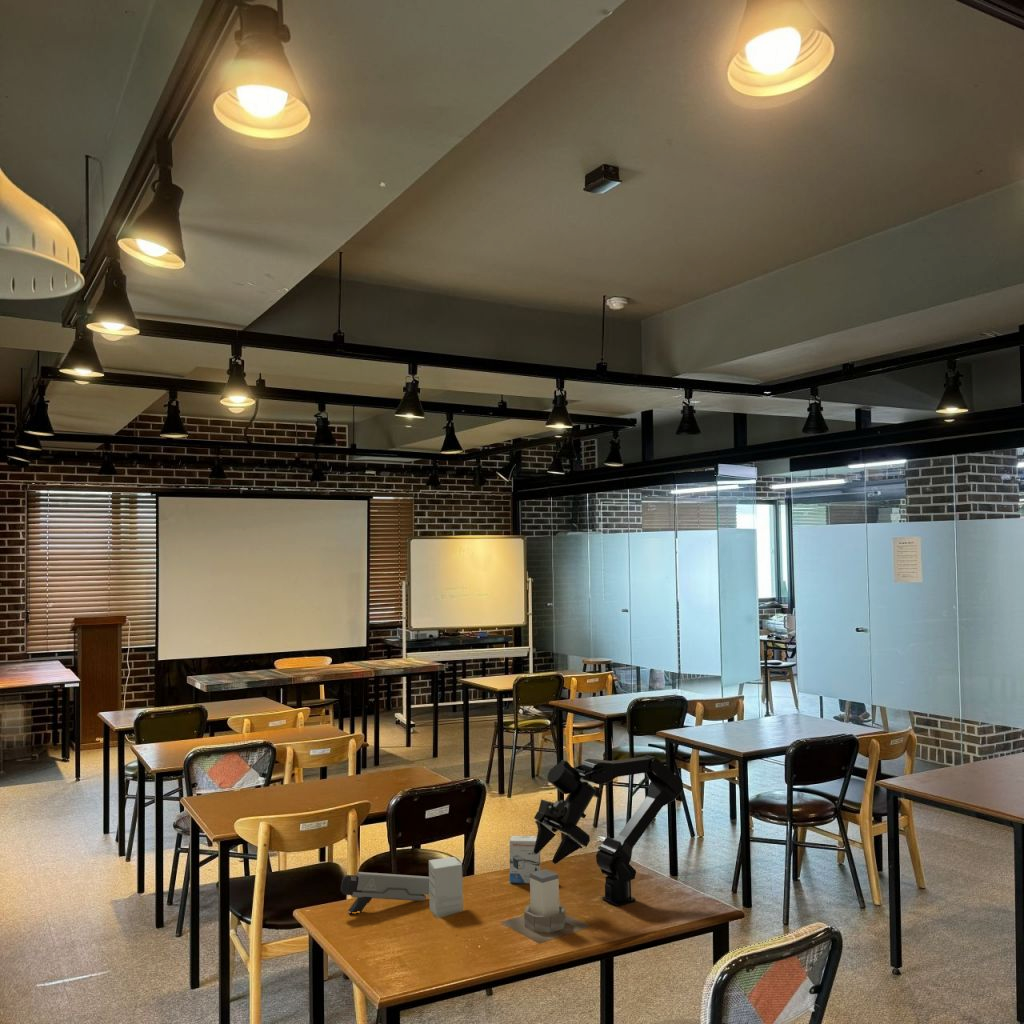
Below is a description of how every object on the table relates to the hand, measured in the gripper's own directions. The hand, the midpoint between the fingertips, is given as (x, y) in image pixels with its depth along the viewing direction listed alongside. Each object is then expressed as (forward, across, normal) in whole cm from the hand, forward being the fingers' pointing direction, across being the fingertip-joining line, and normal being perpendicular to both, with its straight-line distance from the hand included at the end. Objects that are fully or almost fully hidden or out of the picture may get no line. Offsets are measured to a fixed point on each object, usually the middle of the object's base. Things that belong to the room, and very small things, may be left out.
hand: (544, 857), depth 223 cm
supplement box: (+24, -17, -6) cm, 30 cm away
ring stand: (+14, +6, +6) cm, 16 cm away
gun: (+32, -29, -14) cm, 45 cm away
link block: (+13, +6, +6) cm, 15 cm away
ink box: (+6, -27, +17) cm, 32 cm away
